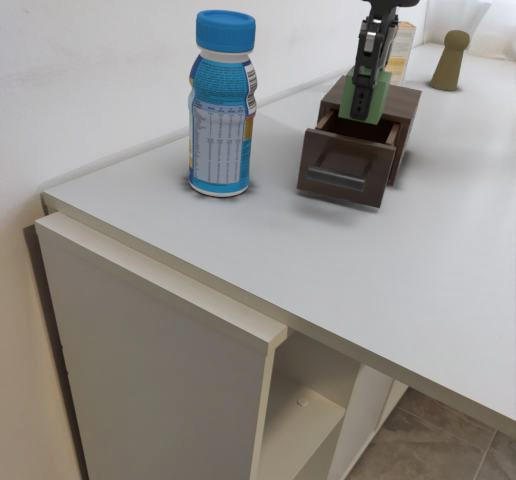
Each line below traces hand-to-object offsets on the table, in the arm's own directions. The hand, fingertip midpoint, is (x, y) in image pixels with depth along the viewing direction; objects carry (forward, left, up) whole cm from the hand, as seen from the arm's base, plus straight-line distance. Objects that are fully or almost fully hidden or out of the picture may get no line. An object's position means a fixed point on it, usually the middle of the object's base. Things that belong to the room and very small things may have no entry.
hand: (362, 111), depth 69 cm
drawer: (+2, +1, -9) cm, 10 cm away
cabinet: (-10, -6, -10) cm, 15 cm away
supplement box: (-40, -27, -11) cm, 49 cm away
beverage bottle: (+15, -10, -11) cm, 21 cm away
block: (0, 0, 0) cm, 0 cm away
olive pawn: (-60, -24, -11) cm, 65 cm away
